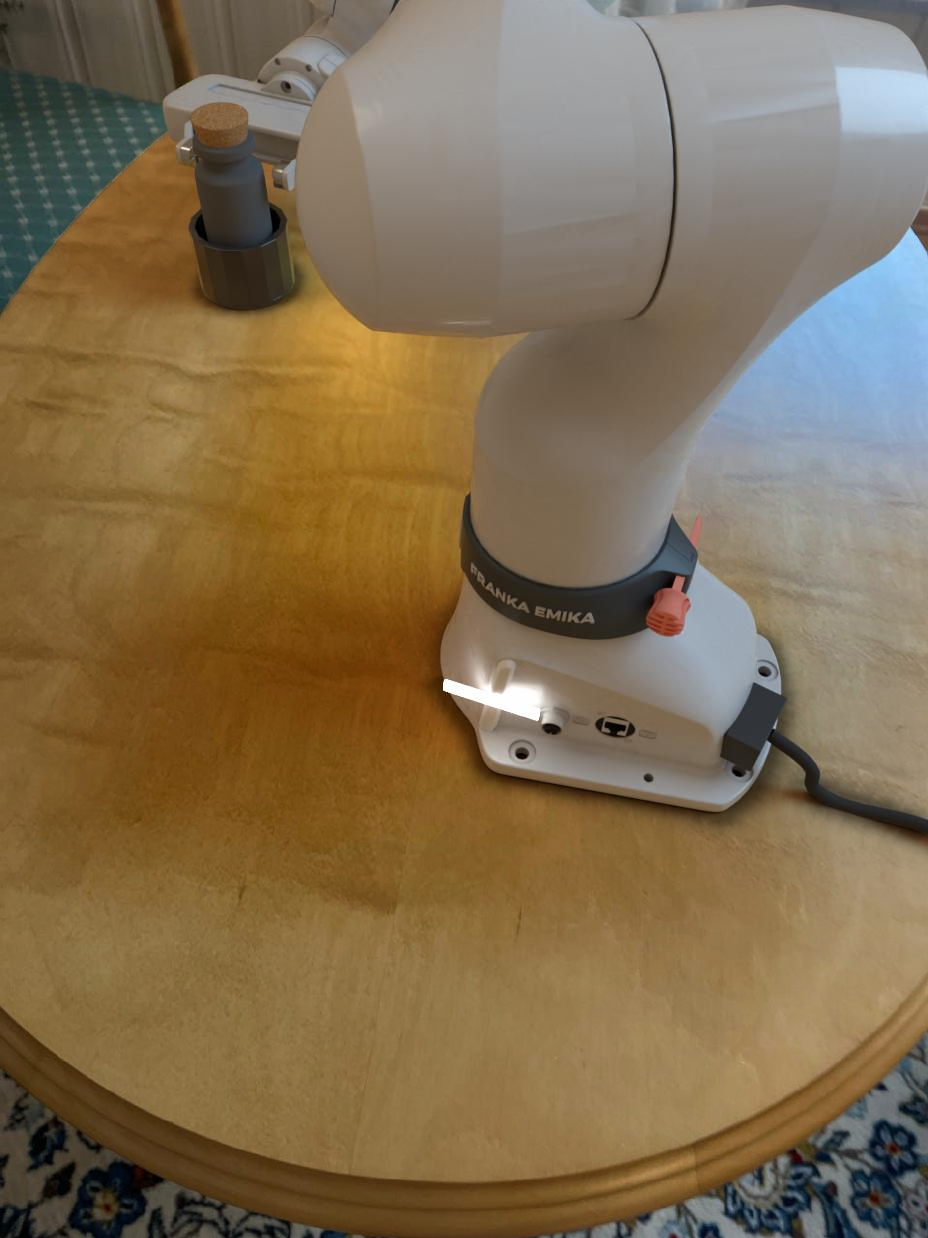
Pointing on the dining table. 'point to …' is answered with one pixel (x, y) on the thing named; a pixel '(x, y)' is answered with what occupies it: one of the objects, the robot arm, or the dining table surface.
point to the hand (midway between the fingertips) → (231, 169)
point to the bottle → (229, 177)
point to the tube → (245, 266)
